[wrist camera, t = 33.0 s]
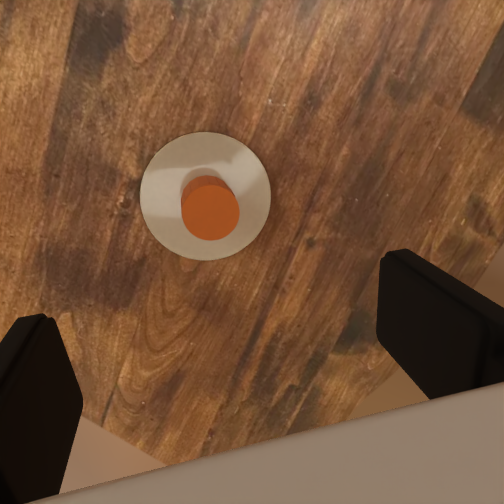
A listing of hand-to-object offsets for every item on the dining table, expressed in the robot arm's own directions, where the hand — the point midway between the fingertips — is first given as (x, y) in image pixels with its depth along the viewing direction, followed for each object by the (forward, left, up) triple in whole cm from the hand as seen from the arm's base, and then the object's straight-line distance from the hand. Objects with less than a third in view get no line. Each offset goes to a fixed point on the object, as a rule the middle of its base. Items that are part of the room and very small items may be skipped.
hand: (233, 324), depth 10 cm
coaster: (+1, -1, -19) cm, 19 cm away
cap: (+1, -1, -19) cm, 19 cm away
